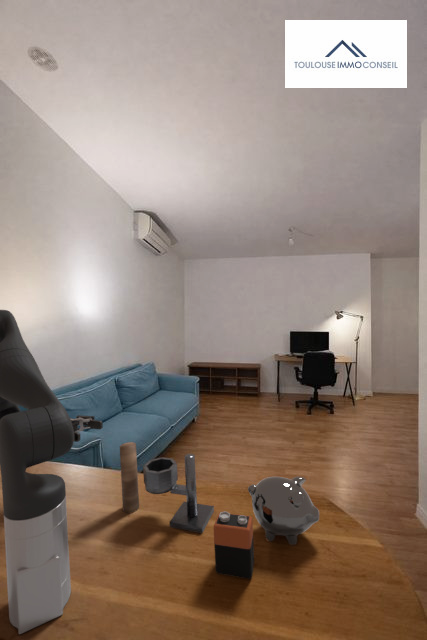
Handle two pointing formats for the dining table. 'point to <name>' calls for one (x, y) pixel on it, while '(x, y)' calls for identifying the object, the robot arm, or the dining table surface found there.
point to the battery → (234, 545)
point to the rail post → (129, 477)
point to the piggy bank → (283, 507)
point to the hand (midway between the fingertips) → (91, 430)
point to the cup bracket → (178, 491)
